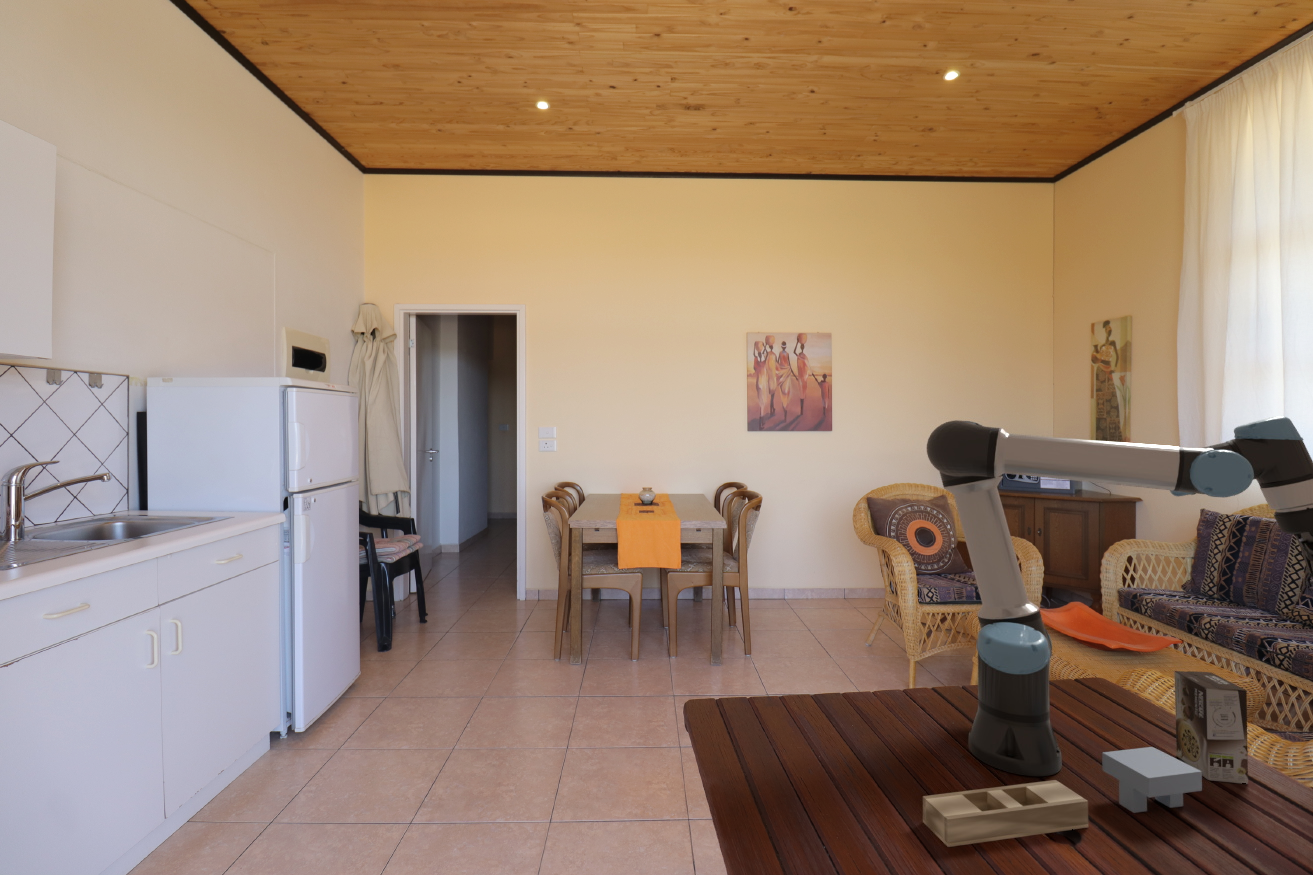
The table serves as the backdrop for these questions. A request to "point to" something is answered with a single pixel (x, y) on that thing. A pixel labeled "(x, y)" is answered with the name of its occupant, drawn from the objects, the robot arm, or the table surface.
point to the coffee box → (1211, 725)
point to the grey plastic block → (1150, 777)
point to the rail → (1004, 812)
